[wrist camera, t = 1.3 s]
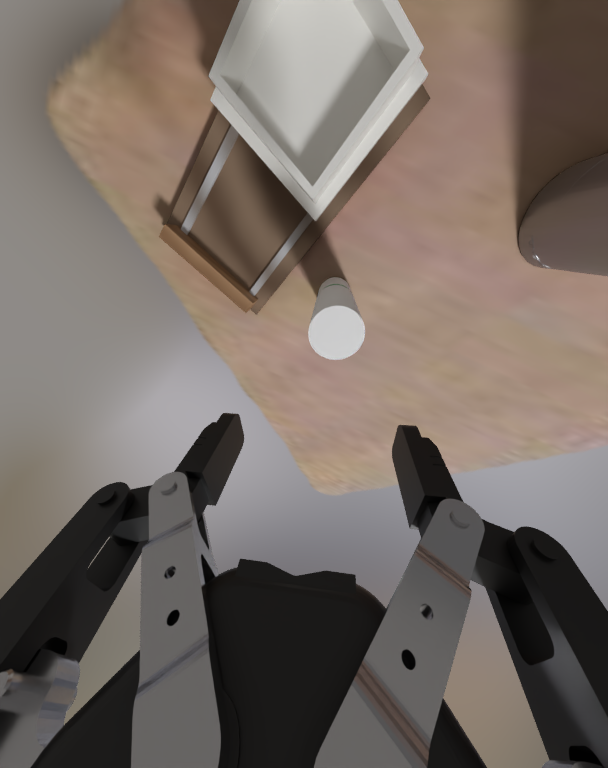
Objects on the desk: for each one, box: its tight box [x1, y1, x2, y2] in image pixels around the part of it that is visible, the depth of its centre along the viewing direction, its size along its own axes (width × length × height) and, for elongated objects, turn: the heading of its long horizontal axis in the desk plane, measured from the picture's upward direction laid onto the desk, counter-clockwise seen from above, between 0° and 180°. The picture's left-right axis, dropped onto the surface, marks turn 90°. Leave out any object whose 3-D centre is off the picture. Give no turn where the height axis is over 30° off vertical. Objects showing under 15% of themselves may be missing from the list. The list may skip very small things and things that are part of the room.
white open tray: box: [209, 0, 428, 221], centre depth 18 cm, size 12×12×6 cm
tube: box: [308, 277, 365, 360], centre depth 24 cm, size 4×4×15 cm
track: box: [159, 85, 430, 314], centre depth 23 cm, size 26×14×3 cm, turn 137°
